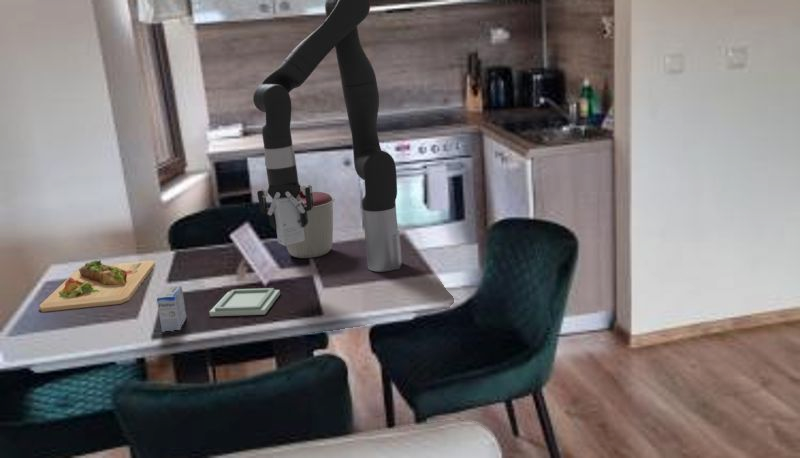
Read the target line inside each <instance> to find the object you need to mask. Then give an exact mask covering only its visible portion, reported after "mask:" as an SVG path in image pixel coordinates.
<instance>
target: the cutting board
mask: <svg viewBox="0 0 800 458" xmlns="http://www.w3.org/2000/svg"><path fill="white" fill-rule="evenodd" d="M155 266H156V263H155V261H153V260H143V261H134V262H123V263H114V264H103V263H102V260H101V259H99V260H96V259H94V260H92V261H90V262H89V263H88V262H86V263H84V265H83V266H81V267H80V268H78V269H77V270H75V271H74V272H73V273H72V274H71V275H70V276H69V277H68V278H67V279H65V281H63V283H62V284H60V286H58V287H57V288H56V289H55V290H54V291H53V292H52V293H51V294H50V295H48V297H47V298H46V299H45V300H43V302H41V303H40V304H39V310H40V311H41V312H42V313H45V312H54V311H61V310H63V311H64V310H72V309H73V310H75V309H81V308H92V307H102V306H111V305H112V306H113V305H119V304H120V305H121V304H123V303H126V302H128V301H130V299H132V297H133V295H134V294H135V292H137V290H138V289H139V288H138V287H140V286H141V285H142V284H143V282H144V281H145V280H144V279H146V278H147V277H148V276H149V274H151V272H152V270H153V269H154V268H155ZM141 283H142V284H141Z"/></svg>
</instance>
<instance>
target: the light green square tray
mask: <svg viewBox="0 0 800 458" xmlns="http://www.w3.org/2000/svg"><path fill="white" fill-rule="evenodd" d="M280 295H281V291H280V289H275V288H274V287H262V288H261V287H260V288H236V289H231V290H230V291H227V293H225V294H224V295H223V296H222V298H221V299H220V300H219V301H217V303H216V304H215V305H214V306H213V307H212V309H210V310H209V311H208V313H209V317H225V316H227V317H229V316H231V317H232V316H233V317H234V316H258V315H266V314H267V313H268V311H269V310H270V308H272V306H273V305H274V303H275V302H276V301H277V299H278V298H279V296H280Z"/></svg>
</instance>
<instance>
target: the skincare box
mask: <svg viewBox="0 0 800 458" xmlns="http://www.w3.org/2000/svg"><path fill="white" fill-rule="evenodd" d="M271 199H272V201H273V198H272V197H271ZM296 200H297V201H299V200H300V196H299V195H298V196H297V198H296ZM275 201H276V206H275V209H274V216H275V223H276V229H275V230H276V236H277V242H278V244H280V245H283V246H284V247H285V246H286V245H289V244H294V243H298V242H302V241H305V236H304V228H303V227H302V224H301V216H300V213H301V212H300V211H299V209H298V208H297V207H295V205H294V204H293V203H292V202H291V200H290V199H289V198H288V197H284V198H279V199H276V200H275Z"/></svg>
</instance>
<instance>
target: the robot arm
mask: <svg viewBox="0 0 800 458" xmlns="http://www.w3.org/2000/svg"><path fill="white" fill-rule="evenodd" d="M324 7H325V9H324V10H325V14H326V15H325V17H326V19H325V20H324V22H323V23H322V24H321V25H320V26H319V27H318V28H316V29H315V30H313V32H312V33H310V35H308V36H307V37H306V38H304V39H303V40H302V41H301V42H300V43H298V44H297V46H296V47H294V49H293V50H292V51H291V52H290V53H289V55H288V56H287V57H286V58H285V59H284V60H283V62H281V64H280V65H279V67H278V68H277V69H275V70H274V71H272V72H271V73H270V74H269V75H268V76H267V77H266V78H264V79H263V80H262V82H261V83H259V85H258V86H257V87H256V89H255V90H254V92H253V96H252V97H253V98H252V99H253V104H254V106H255V107H256V108H257V110H259V111H260V112H263V113H265V125H263V126H262V128H261V134H262V140H263V141H262V142H263V148H264V150H263V151H264V165H265V168H266V169H265V170H266V175H267V176H266V177H267V183H268V184H267V185H268V188H267V189H264V188H260V189H259V190H258V191H257V193H256V194H257V200H258V204H259V210H260V213H261V214H265V215H267V216H268V219H269V220H268V221H269V226H270V228H272V229H273V230H276V223H275V216H274V209H275V206H276V201H275V200H276V199H279V198H284V197H288V198H289V199H290V200H291V202H292V203H293V204H294V205H295V207H297V208H298V209H299V211H300V212H301V213H300V216H301V224H302V227H306V225H307V224H308V215H307V211H309V210H311V209H312V208H313V207H314V204H313V194H312V192H313V187H312V185H311V184H309V185H306V186H307V187H301V186H302V185H301V184H300V183H299V177H298V169H297V162H296V161H297V160H296V155H295V150H294V147H293V145H294V144H293V140H292V133H291V121H292V98H291V95H290V92H291V91H293V90H294V89H297V88H299V87H301V86H302V85H303V84H304V83H305V82H306V80H307V79H308V78H309V77H310V76H311V75H312V73H314V71H315V69H316V68H317V67H318V66H319V65H320V64H321V62H322V61H323V60H324V59H325V57H327V56H328V54H330V52H331V51H333V49H334V48H335V54H336V59H337V64H338V65H337V66H338V69H339V75H340V81H341V89H342V94H343V99H344V103H345V108H346V113H347V118H348V122H349V127H350V131H351V140H352V151H353V153H352V154H353V165H354V169H355V173H356V174H357V176H358V177H359V178H360V179H361V180H363V181H364V189H365V190H364V192H365V193H364V196H363V197H362V199H361V209H362V219H363V229H364V237H365V248H366V249H365V250H366V262H367V268H368V270H369V271H373V272H380V273H381V272H390V271H394V270H400V269H401V266H402V264H403V262H402V250H401V247H402V246H401V238H400V237H401V236H400V230H399V228H398V218H397V217H398V216H397V205H396V199H397V197H398V181H397V180H398V179H397V167H396V162H395V160H394V158H393V156H392V154H390V153H389V152H387V151H385V150H382V147H381V144H380V140H379V135H378V128H377V125H378V124H377V123H378V115H379V110H380V109H379V106H380V93H379V89H378V88H379V87H378V83H377V76H376V73H375V70H374V68H373V66H372V63H371V62H370V59H369V58H368V57H367V54H366V53H365V51H364V49H363V46H362V44H361V41H360V37H359V30H358V26H359V25H360V24H361V23H362V22H363V21H364V20H366V18H367V17H368V15H369V13H370V10H371V1H370V0H325V5H324ZM301 191H302V192H303V194H304V195H306V204H307V206H305V205H304V203H303V202H302V200H301V198H300V200H299V201H297V200H296V198H297V196H298V195H299V193H300V192H301ZM268 195H269V196H270V197H271V199H272V198H273V201H272V202H271V204H270V207H268V204H267V197H268Z"/></svg>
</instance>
